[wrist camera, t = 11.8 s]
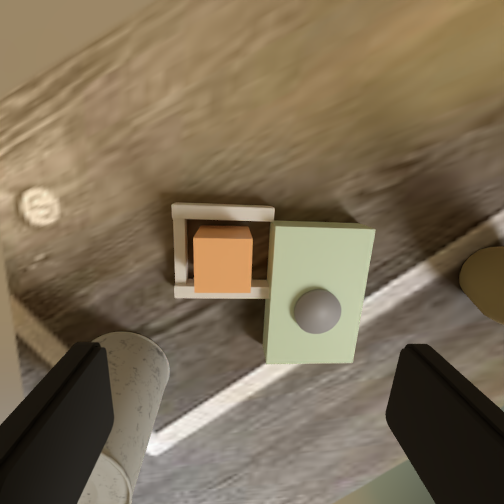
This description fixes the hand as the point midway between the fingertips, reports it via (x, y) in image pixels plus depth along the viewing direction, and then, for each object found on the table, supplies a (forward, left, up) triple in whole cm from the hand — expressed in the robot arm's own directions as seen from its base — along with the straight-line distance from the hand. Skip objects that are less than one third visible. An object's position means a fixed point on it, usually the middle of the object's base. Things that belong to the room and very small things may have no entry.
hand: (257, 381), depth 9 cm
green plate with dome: (+4, +3, -19) cm, 20 cm away
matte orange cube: (+1, -1, -19) cm, 19 cm away
